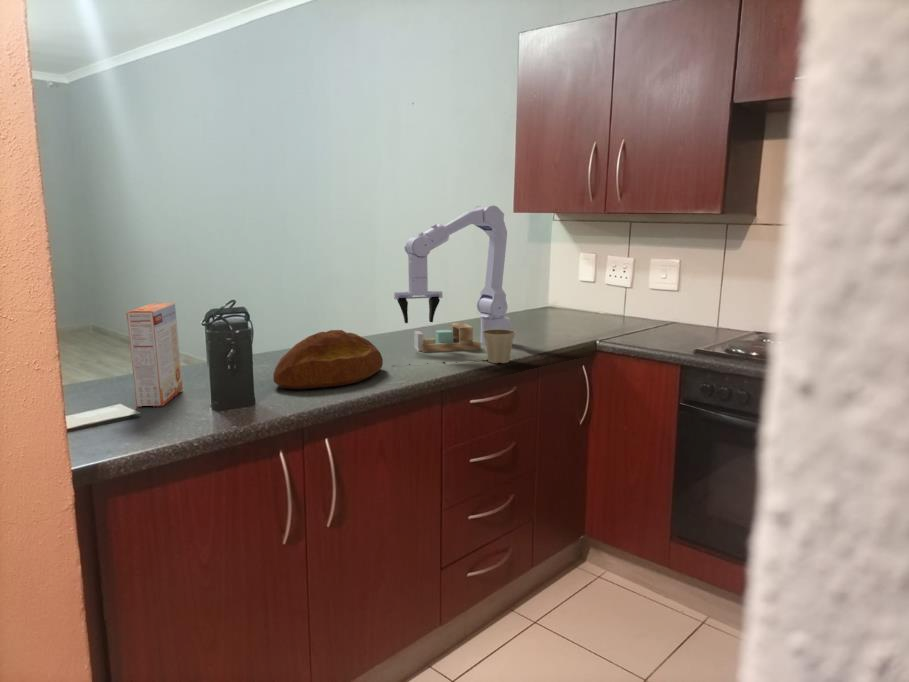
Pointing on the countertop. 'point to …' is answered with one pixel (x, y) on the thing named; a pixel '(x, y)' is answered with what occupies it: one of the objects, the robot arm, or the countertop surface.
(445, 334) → the block
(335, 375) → the bread
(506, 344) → the flower pot
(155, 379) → the cracker box
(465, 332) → the wooden frame
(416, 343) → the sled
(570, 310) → the countertop surface
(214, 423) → the countertop surface
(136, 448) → the countertop surface
